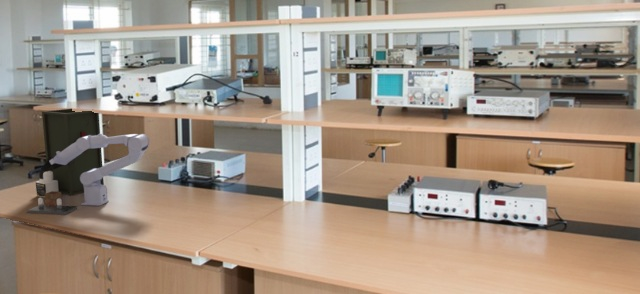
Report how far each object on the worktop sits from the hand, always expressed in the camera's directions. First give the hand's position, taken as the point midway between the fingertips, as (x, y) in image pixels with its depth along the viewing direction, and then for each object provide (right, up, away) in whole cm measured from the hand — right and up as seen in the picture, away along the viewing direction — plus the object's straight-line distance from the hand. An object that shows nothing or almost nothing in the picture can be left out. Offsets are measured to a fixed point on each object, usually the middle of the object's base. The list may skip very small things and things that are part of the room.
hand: (47, 168), depth 259 cm
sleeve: (+2, -16, +1) cm, 16 cm away
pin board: (+8, -18, -11) cm, 23 cm away
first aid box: (+2, -12, +27) cm, 29 cm away
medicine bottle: (-7, -14, +15) cm, 22 cm away
